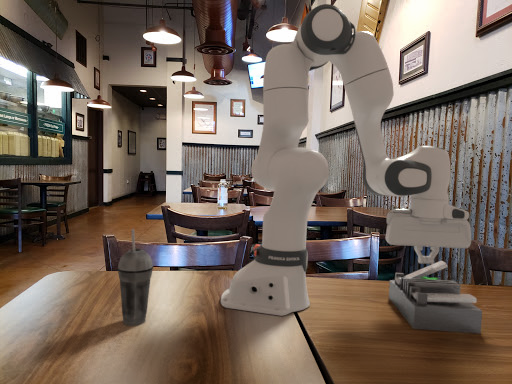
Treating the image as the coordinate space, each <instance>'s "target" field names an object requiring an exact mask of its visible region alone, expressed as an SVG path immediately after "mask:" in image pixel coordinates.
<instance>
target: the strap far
mask: <svg viewBox="0 0 512 384" xmlns="http://www.w3.org/2000/svg"><path fill="white" fill-rule="evenodd" d="M446 268H448V265H447V262H445V261H443V260H439V261H437V262H434V264H429V265H427V266H425V267H423V268H420V269H418V270H416V271H412V272H411V273H409V274H406V275H404V277H399V276H398V277H396V278H395V277H394V280H395V281H396V283H397V284H398V285H399V286H400V278H415V279H420V278H423V277H427V276H429V275H431V274H435V273H438V272H439V271H442V270H444V269H446Z"/></svg>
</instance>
